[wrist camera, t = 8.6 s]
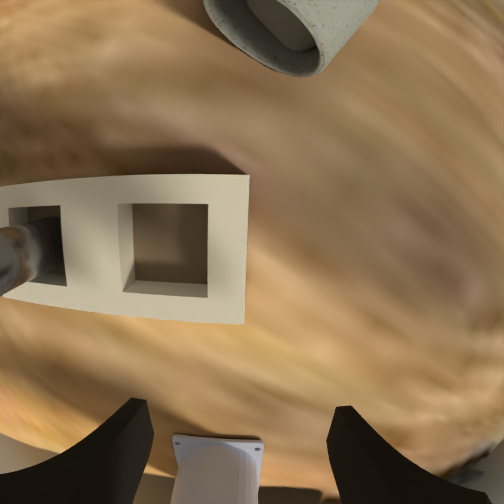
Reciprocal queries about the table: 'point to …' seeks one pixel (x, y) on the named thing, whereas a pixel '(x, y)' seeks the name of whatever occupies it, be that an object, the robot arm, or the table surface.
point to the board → (141, 244)
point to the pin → (29, 251)
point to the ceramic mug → (290, 30)
